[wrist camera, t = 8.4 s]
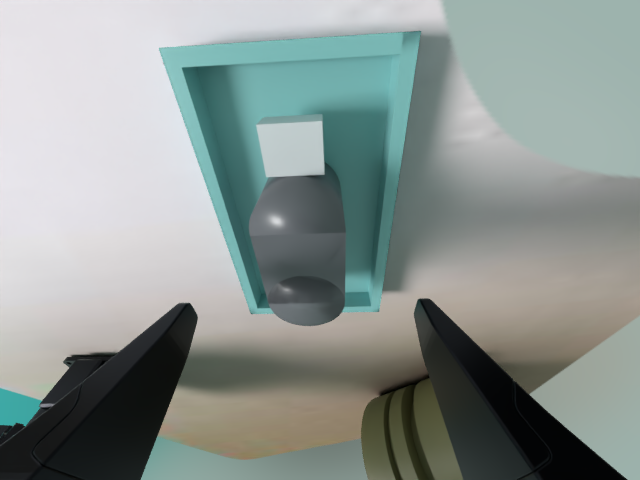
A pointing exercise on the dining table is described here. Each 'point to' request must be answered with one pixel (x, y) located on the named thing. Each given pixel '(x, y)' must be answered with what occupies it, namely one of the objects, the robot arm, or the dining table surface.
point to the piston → (407, 437)
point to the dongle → (299, 223)
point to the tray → (338, 132)
